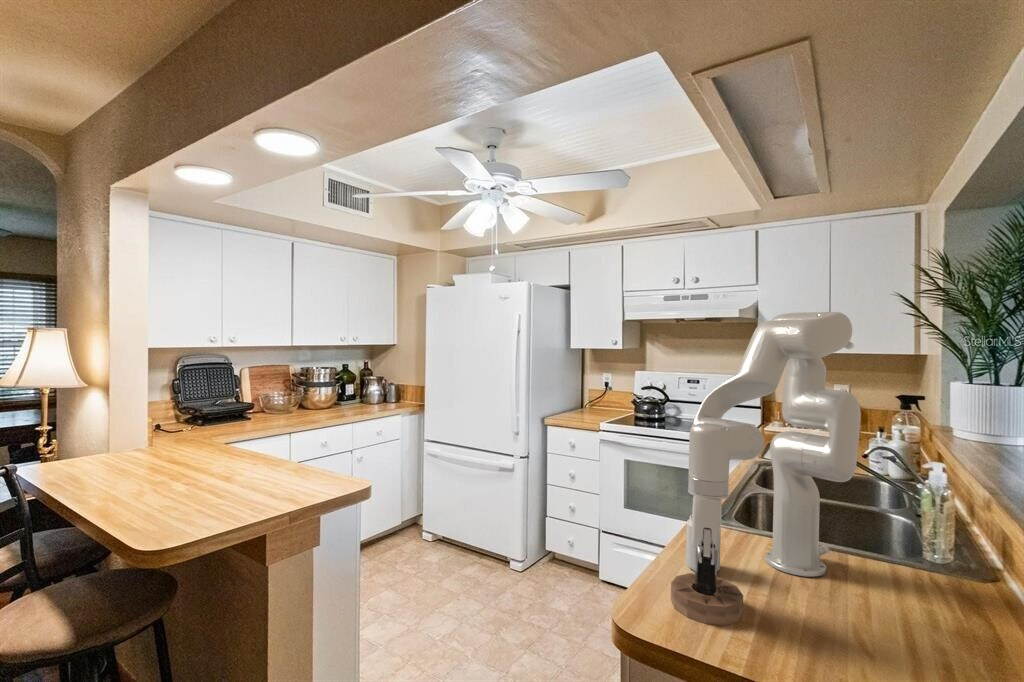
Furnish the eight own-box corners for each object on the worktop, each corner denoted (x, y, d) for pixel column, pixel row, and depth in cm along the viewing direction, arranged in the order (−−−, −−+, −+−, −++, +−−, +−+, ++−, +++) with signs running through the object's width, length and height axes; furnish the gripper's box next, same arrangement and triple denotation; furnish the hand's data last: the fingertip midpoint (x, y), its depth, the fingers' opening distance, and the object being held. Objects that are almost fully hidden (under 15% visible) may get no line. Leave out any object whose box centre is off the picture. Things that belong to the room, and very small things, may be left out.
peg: (705, 582, 103) (706, 538, 103) (720, 591, 99) (721, 546, 99) (690, 585, 101) (691, 541, 101) (705, 595, 98) (706, 548, 98)
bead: (705, 585, 109) (706, 569, 109) (756, 616, 97) (757, 598, 97) (658, 596, 104) (658, 580, 104) (706, 630, 92) (706, 611, 92)
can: (723, 577, 113) (724, 524, 113) (687, 574, 114) (689, 521, 114) (716, 563, 120) (717, 513, 120) (683, 559, 121) (684, 510, 121)
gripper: (689, 474, 109) (687, 558, 109) (686, 495, 94) (684, 593, 94) (726, 478, 107) (724, 564, 107) (730, 500, 91) (728, 602, 91)
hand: (705, 577), depth 100 cm, fingers closed on peg, 4 cm apart
